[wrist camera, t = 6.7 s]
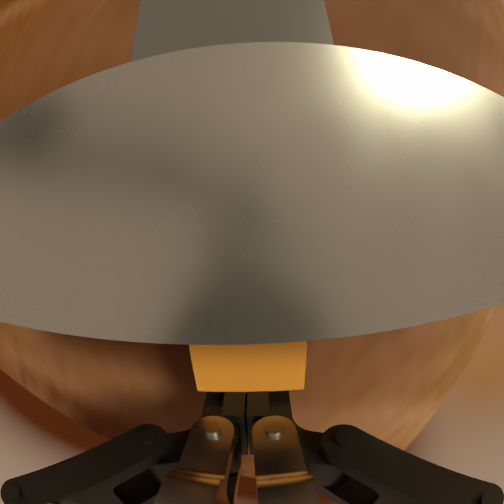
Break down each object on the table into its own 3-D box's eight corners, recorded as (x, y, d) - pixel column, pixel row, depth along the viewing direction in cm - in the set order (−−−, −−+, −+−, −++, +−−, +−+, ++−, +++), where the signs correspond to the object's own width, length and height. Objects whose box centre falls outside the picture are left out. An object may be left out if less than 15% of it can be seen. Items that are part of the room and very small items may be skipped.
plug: (303, 336, 11) (327, 418, 6) (200, 339, 11) (173, 420, 7) (294, 54, 9) (318, -22, 4) (184, 60, 9) (142, -8, 4)
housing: (443, 276, 11) (547, 340, 4) (61, 292, 11) (-35, 358, 4) (441, 110, 9) (553, 78, 2) (46, 135, 9) (-66, 124, 2)
